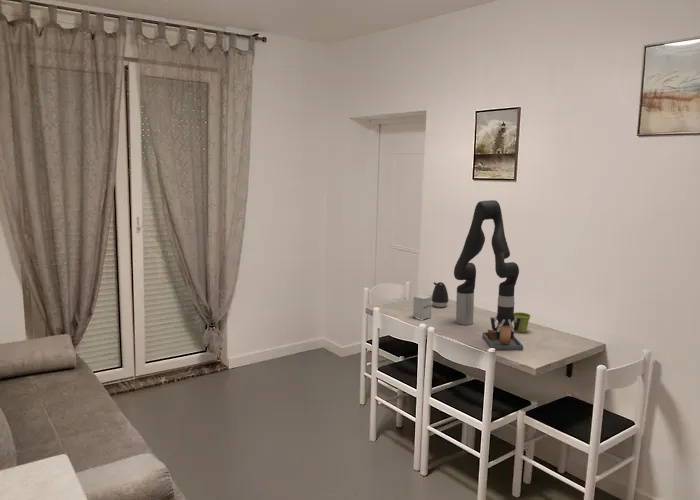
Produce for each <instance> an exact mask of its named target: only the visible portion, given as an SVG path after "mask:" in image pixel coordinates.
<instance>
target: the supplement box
mask: <svg viewBox="0 0 700 500" xmlns="http://www.w3.org/2000/svg"><path fill="white" fill-rule="evenodd" d="M412 315H413V316H414V317H417V318H420V319H425V318H430V317H431V318H432V296H430V295H429V296H428V295H425V294H420V295H415V296H413V314H412ZM413 316H412V317H413ZM431 318H430V319H431Z"/></svg>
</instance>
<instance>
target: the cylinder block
mask: <svg viewBox="0 0 700 500" xmlns="http://www.w3.org/2000/svg"><path fill="white" fill-rule="evenodd" d="M499 332H500V339H498V342H499V343H503V344H509V343H511V327H510V326H507V325H505V326H502V327H501V328H500V331H499Z"/></svg>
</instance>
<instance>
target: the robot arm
mask: <svg viewBox="0 0 700 500" xmlns="http://www.w3.org/2000/svg"><path fill="white" fill-rule="evenodd" d="M485 220H492V222H493V224H494V229H493V234H492V236H491V247H492V251H493V254H494V262H495V269H494V270H495V273H496V276H497V277H498V278H499V279H505V280H504V281H502V282H500V283H499V284H498V297H497V310H496V311H497V312H496V316H495V317H490V318H489V319H490V320H489V321H490V324H491V325H490V326H491V330H494V331H496V338H497V339H500V332H499V331H500V328H501V327H502V326H505V325H507V326H510V327H511V339H512V338H513V337H515V332H516V330H518V328H519V324H520V318H519V317H517V318H516V317H514V313H515V303H516V302H515V287H516V284H517V280H518V277H519V275H520V268H519V265H518V264H517V262H513V261H512V262H510V261H509V262H505V260H506V259H508V258H509V257H510V256H511V252H510V247H509V245H508V242H507V238H506V235H505V228H504V220H503V214H502V209H501V206H500V203H499V202H498V201H497V200H494V199H493V200H491V199H490V200H480V201H478V202H477V203H476V205H475V207H474V212H473V216H472V221H471V225H470V228H469V231H468V233H467V236H466V237H465V241H464V245H463V247H462V250H461V253H460V255H459V257H458V259H457V261H456V263H455V266H454V269H453V276H454V278H455V279H456V280H457V281H464V282H463V283H462V284H461V283H460V284H459V285H457V287H456V306H455V307H456V310H455V323H456V324H458V325H462V326H463V325H464V326H469V325H472V324H474V309H475V308H474V305H475V290H476V289H475V288H476V278H477V268H476V264H475V263H473V262H471V261H472V260H473V259H474V258H475V257H476V256H477V255H479V254H480V253H481V252H482V250H483V248H484V244H485V242H486V237H485V233H484V231H483V228H482V227H483V224H484V223H483V222H484V221H485ZM514 319H515V326H514V324H513V323H514ZM496 322H497V324H496Z"/></svg>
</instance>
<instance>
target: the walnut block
mask: <svg viewBox="0 0 700 500" xmlns="http://www.w3.org/2000/svg"><path fill="white" fill-rule="evenodd" d="M487 332H488V338H489V339H490V340H498V339H497V338H496V331H494V330H493V329H487Z"/></svg>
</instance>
